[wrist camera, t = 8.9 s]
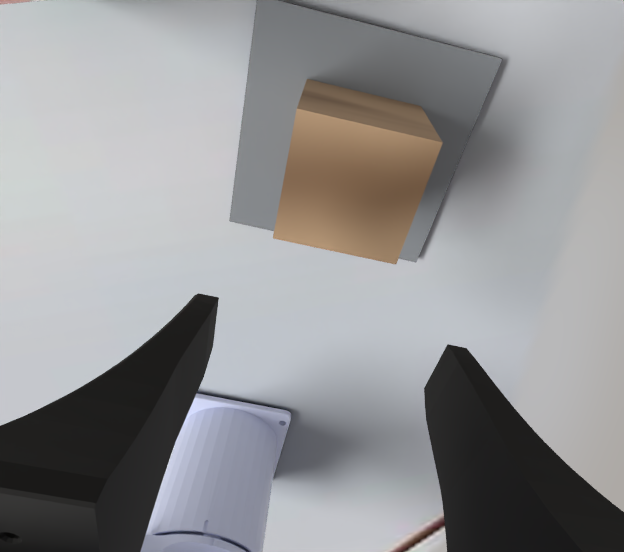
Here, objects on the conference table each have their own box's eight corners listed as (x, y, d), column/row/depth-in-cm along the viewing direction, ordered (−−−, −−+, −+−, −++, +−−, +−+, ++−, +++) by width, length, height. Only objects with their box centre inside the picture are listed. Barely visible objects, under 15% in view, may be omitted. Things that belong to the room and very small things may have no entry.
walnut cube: (385, 209, 22) (395, 264, 18) (286, 187, 21) (272, 238, 17) (421, 106, 19) (443, 142, 15) (306, 78, 18) (296, 108, 14)
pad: (415, 258, 24) (416, 262, 23) (230, 217, 23) (229, 221, 23) (499, 57, 18) (502, 59, 18) (259, -5, 17) (257, -5, 17)
